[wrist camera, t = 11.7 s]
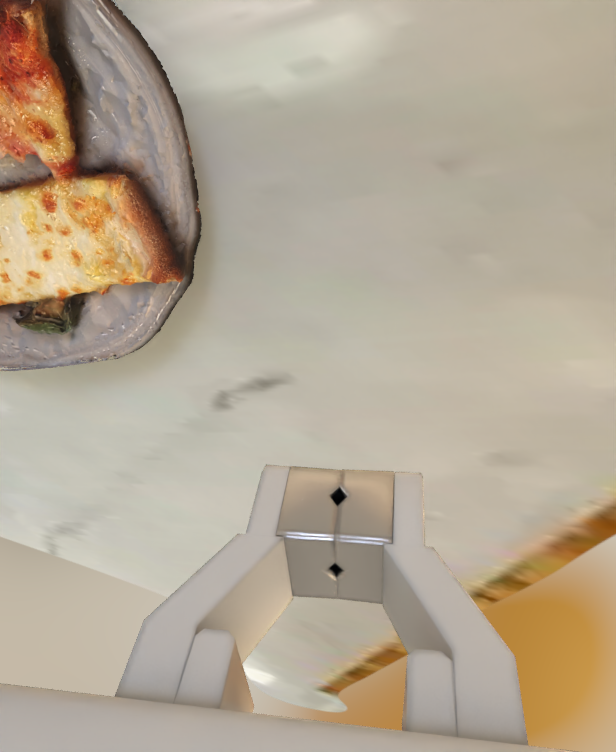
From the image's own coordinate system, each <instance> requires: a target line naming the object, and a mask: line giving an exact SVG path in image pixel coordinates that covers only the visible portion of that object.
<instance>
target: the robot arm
mask: <svg viewBox="0 0 616 752" xmlns="http://www.w3.org/2000/svg"><path fill="white" fill-rule="evenodd" d="M293 596H298V597H315V598H332V599H344V600H352V601H361V602H370V603H379V604H383V608H384V609H385V611H386V613H387V615H388V617H389V619H390V621H391V623H392V625H393V626H394V628H395V630H396V632H397V634H398V636H399V638H400V640H401V642H402V643H403V645H404V647H405V649H406V651H407V653H408V656H407V668H406V681H405V693H404V694H405V695H404V706H403V719H402V731H400V730H392V729H383V728H375V727H366V726H358V725H350V724H341V723H332V722H324V721H316V720H307V719H298V718H290V717H282V716H273V715H265V714H257V713H253V708H254V704H253V700H252V697H251V693H250V690H249V687H248V683H247V680H246V676H245V672H244V669H243V666H242V663H243V662H244V661H245V660H246V658H247V657H248V656H249V655H250V653H251V652H252V651H253V649H254V648H255V647H256V646H257V644H258V643H259V642H260V641H261V639H262V638H263V637H264V635H265V634H266V633H267V632H268V630H269V629H270V628H271V626H272V625H273V624H274V623H275V621H276V620H277V619H278V618H279V616H280V615H281V614H282V612H283V611H284V610H285V609H286V607H287V606H288V605H289V603H290V602H291V601H292V600H293ZM0 752H578V751H569V750H561V749H552V748H543V747H535V746H528V741H527V734H526V727H525V721H524V714H523V707H522V700H521V694H520V687H519V680H518V673H517V667H516V660H515V656H514V655H513V653H512V652H511V651H510V649H509V648H508V647H507V645H506V644H505V643H504V641H503V640H502V639H501V637H500V636H499V635H498V633H497V632H496V630H495V629H494V628H493V627H492V625H491V624H490V622H489V621H488V620H487V619H486V617H485V616H484V614H483V613H482V612H481V610H480V609H479V608H478V606H477V605H476V604H475V602H474V601H473V600H472V598H471V597H470V596H469V594H468V593H467V592H466V590H465V589H464V588H463V586H462V585H461V584H460V582H459V581H458V580H457V578H456V577H455V576H454V574H453V573H452V572H451V570H450V569H449V568H448V566H447V565H446V564H445V562H444V561H443V560H442V558H441V557H440V556H439V554H438V553H437V552H436V550H435V549H434V548H433V547H425V529H424V496H423V476H422V474H421V473H410V472H395V473H394V471H369V470H344V469H342V470H334V469H321V468H308V467H295V466H292V467H291V466H277V465H266V466H265V467H264V469H263V471H262V474H261V477H260V481H259V485H258V489H257V493H256V496H255V500H254V504H253V508H252V511H251V515H250V519H249V523H248V526H247V530H246V534H237V535H236V536H235V537H234V538H233V539H232V540H230V541H229V542H228V543H227V544H226V545H225V546H224V547H223V548H222V549H221V550H220V551H218V552H217V553H216V554H215V555H214V556H213V557H212V558H211V559H210V560H209V561H208V562H206V563H205V564H204V565H203V566H202V567H201V568H200V569H199V570H198V571H197V572H196V573H195V574H193V575H192V576H191V577H190V578H189V579H188V580H187V581H186V582H185V583H184V584H183V585H181V586H180V587H179V588H178V589H177V590H176V591H175V592H174V593H173V594H172V595H171V596H169V597H168V598H167V599H166V600H165V601H164V602H163V603H162V604H161V605H160V606H159V607H157V608H156V609H155V610H154V611H153V612H152V613H151V614H150V615H149V616H148V617H147V618H146V619H144V621H143V624H142V626H141V629H140V631H139V634H138V637H137V639H136V642H135V645H134V647H133V650H132V653H131V655H130V658H129V661H128V663H127V666H126V668H125V671H124V674H123V676H122V679H121V681H120V684H119V686H118V689H117V692H116V694H115V697H112V696H104V695H94V694H86V693H78V692H69V691H61V690H53V689H44V688H35V687H27V686H18V685H10V684H1V683H0Z"/></svg>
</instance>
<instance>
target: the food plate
mask: <svg viewBox="0 0 616 752" xmlns="http://www.w3.org/2000/svg"><path fill="white" fill-rule="evenodd" d="M162 67H163V66H162V65H161V62H160V61H159V60H158V59H157V57H156V55H155V54H154V52H153V50H151V49H150V47H148V43H147V42H146V41H145V39H144V38H143V37H142V35H141V33H140V32H139V31H138V30H137V29H136V28H135V26H134V25H133V24H132V23H131V21H130V20H128V18H127V17H126V16H124V15H123V12H122V11H121V10H119V9H118V7H116V6H115V3H114V2H112V1H111V0H0V368H3V367H4V368H22V367H32V368H22V369H2V370H0V371H18V370H33V369H42V368H53V367H57V366H68V365H76V364H83V363H91V362H97V361H98V359H102V360H101V361H103V360H107V359H108V358H109V357H112V356H116V358H114V359H118V358H120V357H122V356H125V355H127V354H129V353H132V352H134V351H135V350H138V349H140V348H141V347H142V346H144V345H145V344H146V343H148V342H149V341H150V340H151V339H152V337H154V335H155V334H156V333H158V332H159V331H160V330H161V327H162V326H163V325H164V323H165V321H166V319H168V317H169V315H170V314H171V311H172V310H173V308H174V306H175V305H176V304H177V302H178V301H179V300H180V298H181V297H182V294H183V293H185V291H186V290H187V288H188V287H189V285H190V284H191V282H192V279H193V275H194V274H193V271H194V261H193V260H194V258H195V257H194V255H196V254H195V253H196V250H197V246H198V242H199V241H200V240H199V239H200V237H201V235H200V232H201V218H200V217H201V215H200V211H199V208H198V205H199V204H198V203H197V201H198V189H197V182H196V181H197V180H196V179H195V176H194V173H195V171H194V167H193V164H192V161H193V160H192V153H191V149H190V146H189V141H188V137H187V132H186V129H185V125H184V118H183V115H182V110H181V107H180V105H179V104H178V99H177V97H176V94H174V92H173V88H172V87H171V86H170V82H169V79H168V78H167V74H166V72H165V71H164V70H163V69H162ZM86 360H87V361H89V362H80V361H86ZM110 360H111V359H110ZM99 361H100V360H99ZM5 366H7V367H5ZM33 366H34V367H33ZM35 366H36V367H35Z"/></svg>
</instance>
